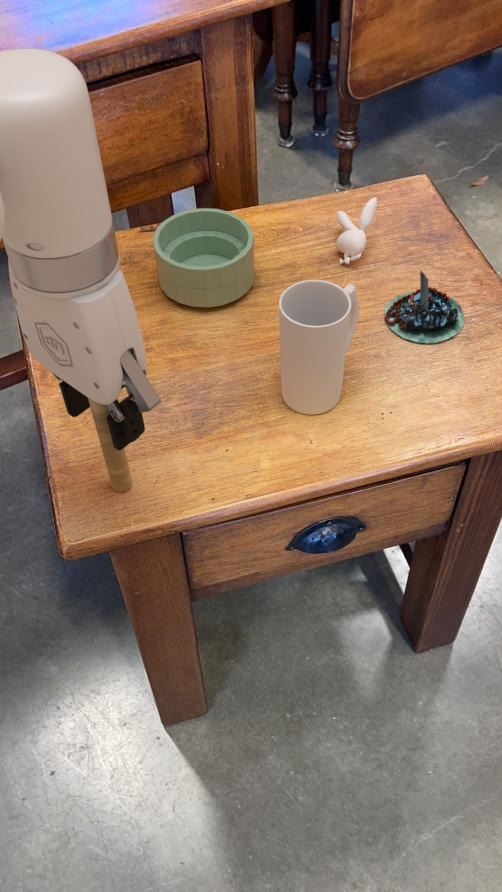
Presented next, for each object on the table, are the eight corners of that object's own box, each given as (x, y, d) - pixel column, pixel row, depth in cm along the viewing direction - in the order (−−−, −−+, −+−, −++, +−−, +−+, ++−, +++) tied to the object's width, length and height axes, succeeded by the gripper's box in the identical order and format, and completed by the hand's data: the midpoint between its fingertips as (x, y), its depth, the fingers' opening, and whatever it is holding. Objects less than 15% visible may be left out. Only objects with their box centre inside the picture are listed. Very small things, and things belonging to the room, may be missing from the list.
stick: (121, 496, 79) (94, 392, 67) (107, 485, 79) (78, 380, 68) (136, 483, 80) (113, 378, 68) (122, 472, 80) (96, 367, 69)
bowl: (208, 326, 93) (204, 283, 88) (139, 284, 97) (132, 240, 92) (274, 278, 98) (273, 234, 93) (205, 240, 102) (202, 196, 97)
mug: (312, 427, 84) (317, 337, 74) (265, 394, 87) (263, 303, 77) (376, 377, 88) (388, 286, 79) (329, 346, 91) (335, 255, 81)
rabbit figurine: (320, 263, 100) (330, 202, 101) (339, 277, 103) (349, 218, 104) (360, 253, 96) (370, 190, 97) (379, 268, 99) (388, 207, 100)
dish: (420, 336, 88) (421, 266, 89) (376, 348, 94) (377, 282, 94) (473, 347, 93) (473, 280, 93) (428, 357, 99) (428, 294, 99)
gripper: (-56, 224, 59) (10, 400, 74) (105, 329, 53) (143, 500, 68) (26, 179, 63) (74, 356, 78) (187, 273, 56) (206, 447, 71)
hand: (106, 422), depth 72 cm, fingers open, 5 cm apart
